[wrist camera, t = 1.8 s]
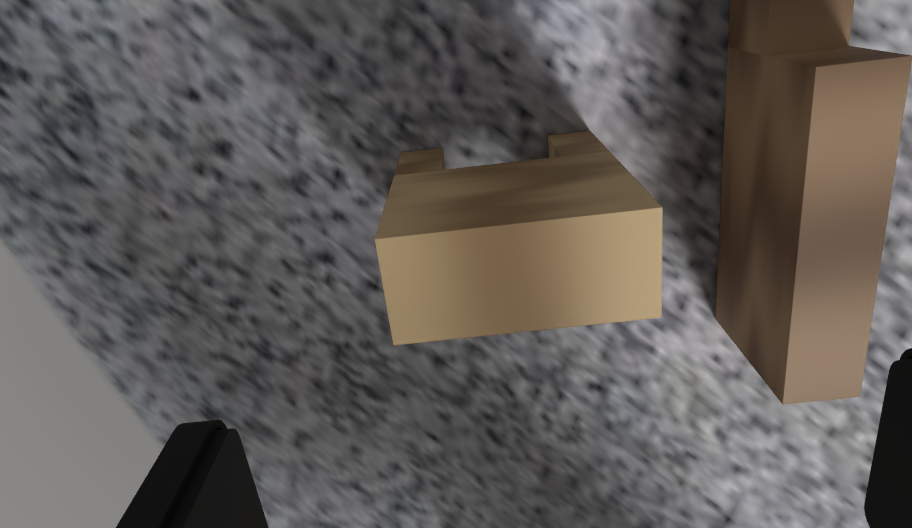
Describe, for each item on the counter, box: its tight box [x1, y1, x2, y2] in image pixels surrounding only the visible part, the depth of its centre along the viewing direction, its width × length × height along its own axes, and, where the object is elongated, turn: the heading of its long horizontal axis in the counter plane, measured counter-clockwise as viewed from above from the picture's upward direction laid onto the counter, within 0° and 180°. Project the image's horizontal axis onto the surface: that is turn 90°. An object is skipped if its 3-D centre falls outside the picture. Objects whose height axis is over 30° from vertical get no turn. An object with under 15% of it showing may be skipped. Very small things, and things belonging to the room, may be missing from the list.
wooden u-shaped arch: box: [375, 131, 663, 345], centre depth 20 cm, size 7×3×9 cm, turn 97°
